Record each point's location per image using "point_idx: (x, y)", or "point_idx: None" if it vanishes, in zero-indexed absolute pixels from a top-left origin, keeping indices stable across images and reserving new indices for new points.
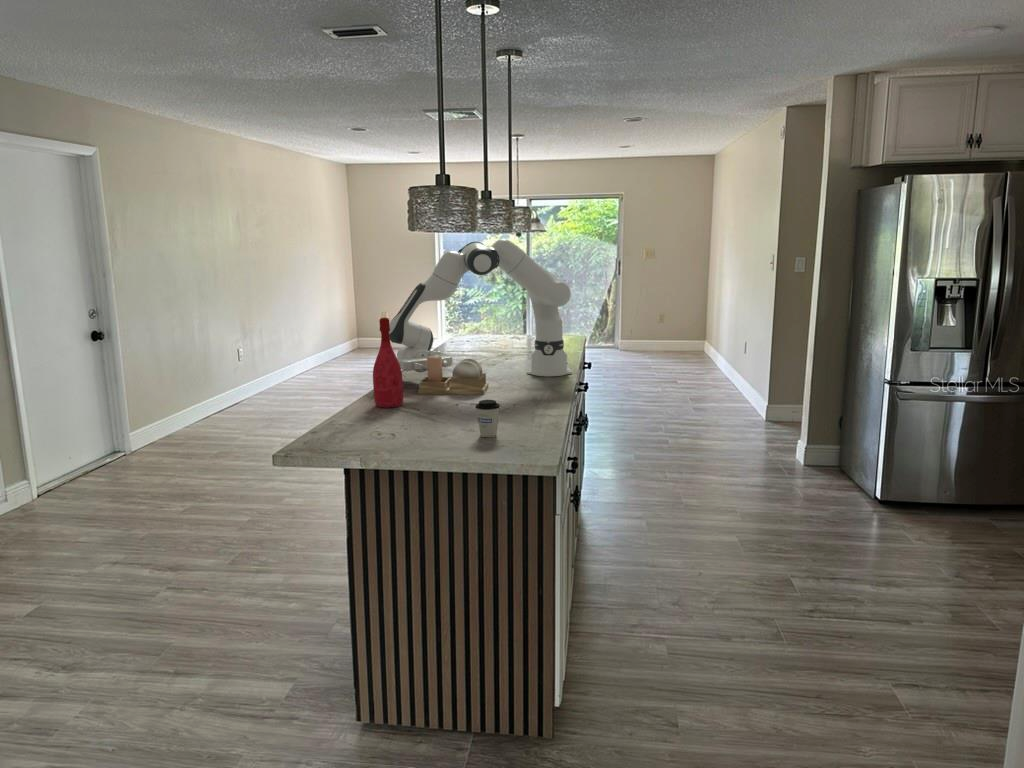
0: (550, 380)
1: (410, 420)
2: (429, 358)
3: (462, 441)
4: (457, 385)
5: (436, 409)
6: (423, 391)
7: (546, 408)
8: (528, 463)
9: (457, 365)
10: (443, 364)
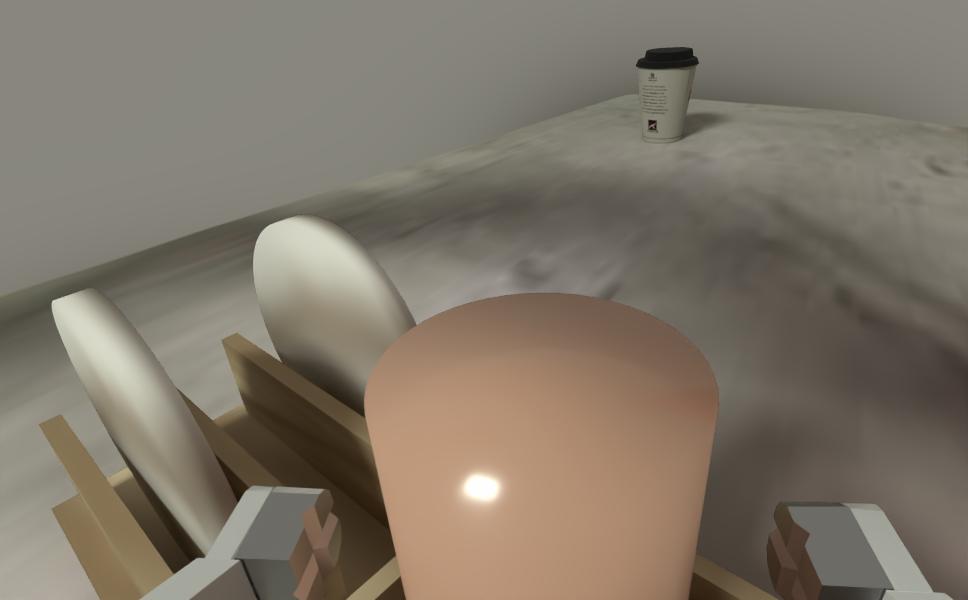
0: None
1: (883, 222)
2: (678, 337)
3: (733, 133)
4: None
5: (739, 277)
6: None
7: (370, 196)
8: None
9: (380, 274)
10: (312, 553)
